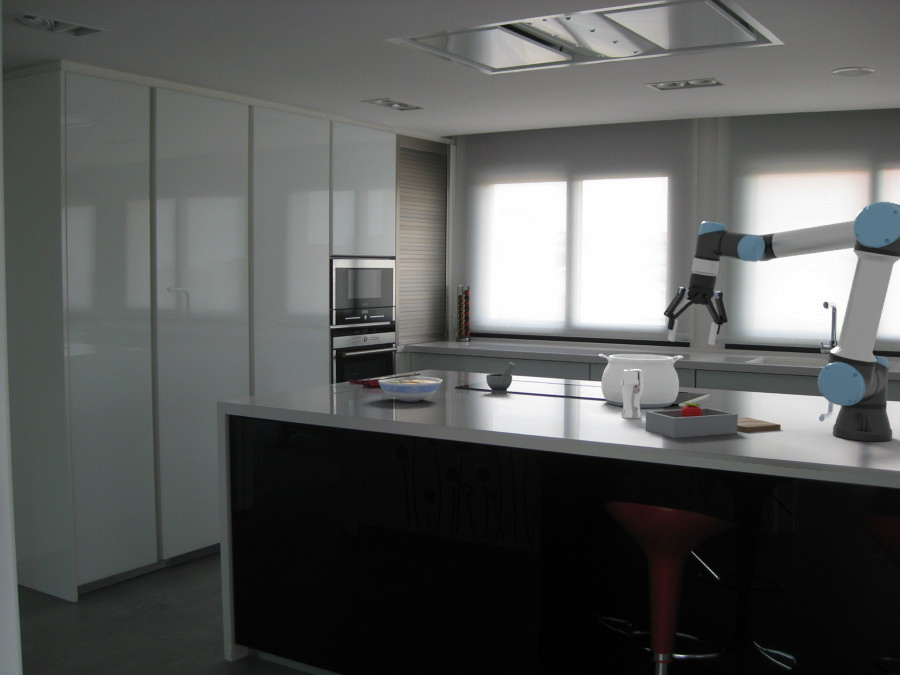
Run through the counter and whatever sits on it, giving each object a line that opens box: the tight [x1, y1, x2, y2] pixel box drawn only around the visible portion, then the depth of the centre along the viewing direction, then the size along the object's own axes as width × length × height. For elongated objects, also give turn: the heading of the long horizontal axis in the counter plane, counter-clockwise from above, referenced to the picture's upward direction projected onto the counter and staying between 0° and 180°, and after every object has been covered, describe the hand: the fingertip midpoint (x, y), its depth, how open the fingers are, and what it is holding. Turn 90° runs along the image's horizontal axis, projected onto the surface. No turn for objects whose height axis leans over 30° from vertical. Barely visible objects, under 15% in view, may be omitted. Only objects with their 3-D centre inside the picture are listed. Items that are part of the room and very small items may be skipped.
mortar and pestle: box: [485, 361, 516, 395], centre depth 332 cm, size 11×9×12 cm
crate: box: [645, 407, 739, 439], centre depth 254 cm, size 13×22×6 cm, turn 113°
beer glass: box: [621, 369, 644, 420], centre depth 279 cm, size 7×7×15 cm
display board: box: [737, 417, 782, 433], centre depth 263 cm, size 14×13×2 cm
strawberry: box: [681, 402, 702, 417], centre depth 253 cm, size 6×8×10 cm
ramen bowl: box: [371, 372, 443, 403], centre depth 310 cm, size 25×23×8 cm
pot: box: [598, 353, 684, 409], centre depth 308 cm, size 29×26×17 cm
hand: (691, 342), depth 269 cm, fingers open, 13 cm apart
